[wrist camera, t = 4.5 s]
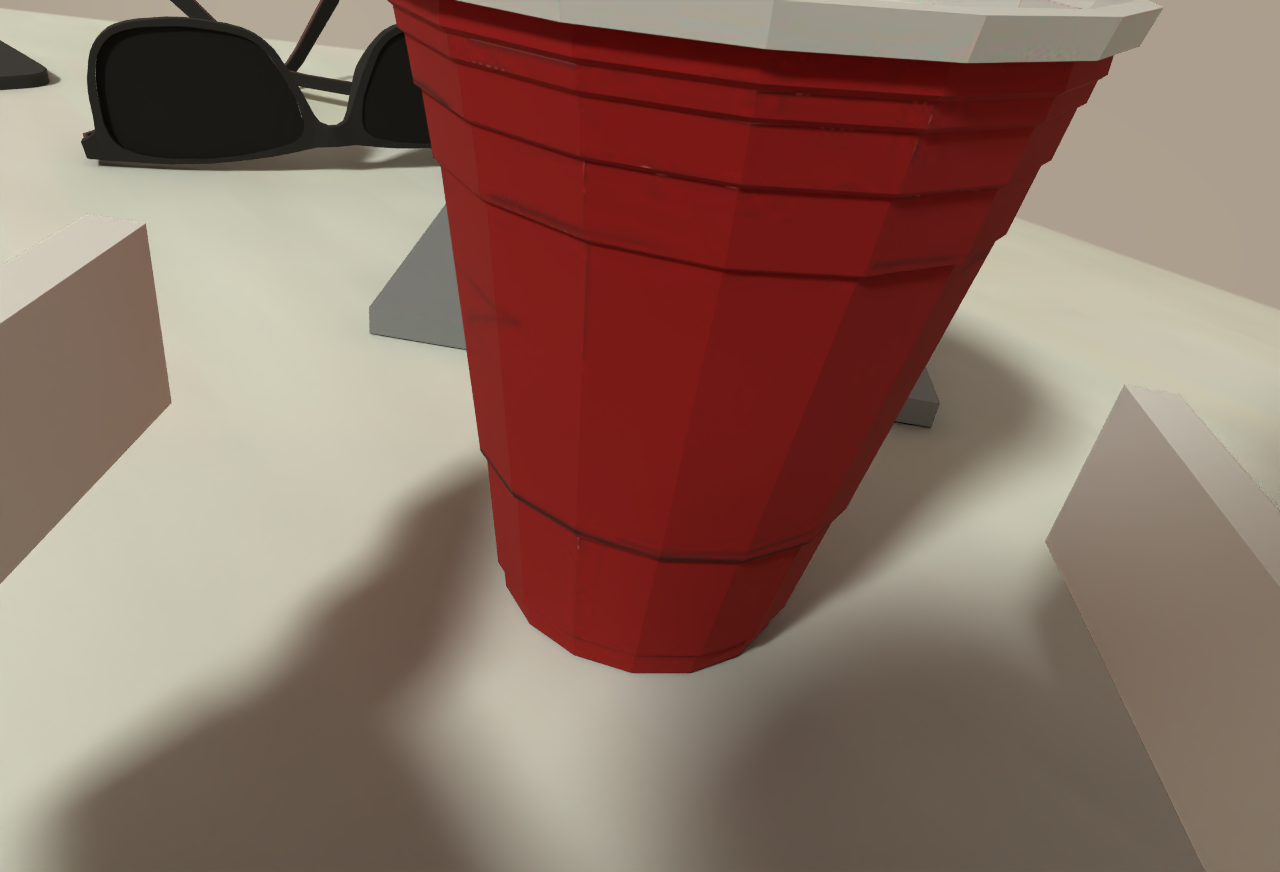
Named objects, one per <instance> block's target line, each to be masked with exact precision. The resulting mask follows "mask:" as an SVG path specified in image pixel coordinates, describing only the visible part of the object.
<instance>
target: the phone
mask: <svg viewBox="0 0 1280 872" xmlns="http://www.w3.org/2000/svg"><path fill="white" fill-rule="evenodd" d="M48 83H49V78H48V73H47V69H46V68H45V67H44V66H42V65H41V64H39V63H38V62H36V61H34V60H33V59H31V58H29V57H28V56H26V55H24V54H22V53H21V52H19V51H17V50H16V49H14V48H12V47H11V46H9V45H7V44H6V43H4V42H2V41H0V90H8V89H22V88H33V87H40V86H44V85H47V84H48Z"/></svg>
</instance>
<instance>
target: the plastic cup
mask: <svg viewBox="0 0 1280 872" xmlns="http://www.w3.org/2000/svg"><path fill="white" fill-rule="evenodd" d="M388 1H389V2H390V3H391V4H392V5H393V8H394V13H395V18H396V23H397V27H398V28H399V29H400V30H402V31H403V32H404V34H405V39H406V44H407V50H408V55H409V60H410V66H411V71H412V76H413V81H414V84H416V85H417V86H418V87H420V88H421V89H422V95H423V101H424V107H425V112H426V118H427V124H428V130H429V135H430V141H431V147H432V153H433V158H434V159H436V160H437V161H438V162H439V163H440V164H441V171H442V178H443V185H444V193H445V200H446V207H447V214H448V221H449V228H450V235H451V243H452V250H453V257H454V264H455V271H456V278H457V286H458V293H459V300H460V307H461V314H462V321H463V328H464V336H465V343H466V350H467V357H468V364H469V371H470V378H471V386H472V393H473V400H474V407H475V414H476V421H477V429H478V436H479V443H480V450H481V452H482V453H483V455H484V456H485V458H486V459H487V462H488V471H489V480H490V489H491V499H492V508H493V517H494V526H495V536H496V545H497V554H498V562H499V564H500V565H501V567H502V568H503V570H504V572H505V579H506V586H507V588H508V589H509V591H510V593H511V594H512V596H513V597H514V599H515V601H516V602H517V604H518V606H519V607H520V609H521V610H522V612H523V614H524V615H525V617H526V618H527V620H528V622H529V623H530V624H531V625H532V626H534V627H535V628H537V629H538V630H539V631H541V632H542V633H544V634H545V635H546V636H548V637H549V638H551V639H552V640H553V641H555V642H556V643H558V644H559V645H561V646H562V647H563V648H565V649H566V650H568V651H569V652H570V653H572V654H573V655H576V656H579V657H582V658H585V659H589V660H592V661H595V662H598V663H602V664H605V665H608V666H611V667H614V668H618V669H621V670H624V671H627V672H631V673H690V672H693V671H696V670H699V669H702V668H705V667H707V666H710V665H713V664H716V663H719V662H722V661H724V660H727V659H730V658H733V657H736V656H738V655H739V654H740V653H741V652H742V651H743V650H744V649H745V648H746V647H747V646H748V645H749V644H750V643H751V642H752V641H753V640H754V639H755V638H756V637H757V636H758V635H759V634H760V633H761V632H762V631H763V630H764V629H765V628H766V627H767V625H768V623H769V622H770V620H771V619H772V618H773V617H774V616H775V615H776V614H777V613H778V612H779V611H780V610H781V609H782V608H783V607H784V606H785V604H786V602H787V601H788V599H789V597H790V595H791V593H792V592H793V590H794V588H795V586H796V585H797V583H798V581H799V579H800V577H801V576H802V574H803V572H804V570H805V569H806V567H807V565H808V563H809V561H810V560H811V558H812V556H813V554H814V553H815V551H816V549H817V547H818V545H819V544H820V542H821V540H822V538H823V537H824V535H825V533H826V531H827V529H828V528H829V526H830V524H831V522H832V521H833V520H834V519H836V518H837V517H838V516H839V515H840V514H841V513H842V512H843V511H844V510H845V509H846V507H847V506H848V504H849V502H850V500H851V498H852V497H853V495H854V493H855V491H856V489H857V488H858V486H859V484H860V482H861V481H862V479H863V477H864V475H865V473H866V472H867V470H868V468H869V466H870V464H871V463H872V461H873V459H874V457H875V456H876V454H877V452H878V450H879V448H880V447H881V445H882V443H883V441H884V439H885V438H886V436H887V434H888V432H889V431H890V429H891V427H892V425H893V423H894V422H895V420H896V418H897V416H898V414H899V413H900V411H901V409H902V407H903V406H904V404H905V402H906V400H907V398H908V397H909V395H910V393H911V391H912V389H913V388H914V386H915V384H916V382H917V381H918V379H919V377H920V375H921V373H922V372H923V370H924V368H925V366H926V364H927V363H928V361H929V359H930V357H931V355H932V354H933V352H934V350H935V348H936V347H937V345H938V343H939V341H940V339H941V338H942V336H943V334H944V332H945V330H946V329H947V327H948V325H949V323H950V322H951V320H952V318H953V316H954V314H955V313H956V311H957V309H958V307H959V305H960V304H961V302H962V300H963V298H964V297H965V295H966V293H967V291H968V289H969V288H970V286H971V284H972V282H973V280H974V279H975V277H976V275H977V273H978V272H979V270H980V268H981V266H982V264H983V263H984V261H985V259H986V257H987V255H988V254H989V252H990V250H991V248H992V247H993V245H994V243H995V241H997V240H998V239H1000V238H1001V237H1003V236H1004V235H1006V234H1007V232H1008V230H1009V228H1010V226H1011V224H1012V222H1013V220H1014V218H1015V216H1016V214H1017V212H1018V210H1019V208H1020V206H1021V204H1022V202H1023V200H1024V198H1025V196H1026V194H1027V192H1028V190H1029V188H1030V186H1031V184H1032V183H1033V180H1034V179H1035V177H1036V175H1037V173H1038V171H1039V169H1040V167H1041V166H1042V165H1043V164H1045V163H1047V162H1049V161H1051V160H1052V158H1053V156H1054V154H1055V152H1056V149H1057V148H1058V146H1059V144H1060V142H1061V139H1062V137H1063V136H1064V134H1065V132H1066V130H1067V128H1068V126H1069V124H1070V122H1071V119H1072V118H1073V116H1074V114H1075V112H1076V109H1077V108H1078V107H1080V106H1081V105H1084V104H1086V103H1087V101H1088V99H1089V97H1090V95H1091V93H1092V91H1093V89H1094V87H1095V85H1096V83H1097V81H1098V80H1099V79H1101V78H1103V77H1104V76H1106V75H1108V71H1109V69H1110V66H1111V62H1112V59H1113V56H1114V55H1116V54H1118V53H1121V52H1124V51H1128V50H1130V49H1133V48H1136V47H1139V46H1140V45H1141V43H1142V42H1143V40H1144V38H1145V37H1146V35H1147V33H1148V32H1149V30H1150V28H1151V27H1152V25H1153V24H1154V22H1155V21H1156V19H1157V17H1158V16H1159V14H1160V13H1161V11H1162V9H1163V7H1162V6H1160V5H1157V4H1155V3H1153V2H1151V1H1148V0H388Z"/></svg>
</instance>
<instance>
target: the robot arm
mask: <svg viewBox="0 0 1280 872" xmlns="http://www.w3.org/2000/svg"><path fill="white" fill-rule="evenodd" d="M170 404H171V396H170V389H169V382H168V375H167V368H166V361H165V354H164V347H163V340H162V333H161V326H160V319H159V312H158V305H157V298H156V291H155V284H154V277H153V271H152V264H151V257H150V250H149V243H148V236H147V229H146V223H141V222H135V221H129V220H123V219H116V218H110V217H104V216H98V215H92V214H85V215H83V216H82V217H80V218H78V219H77V220H75V221H73V222H72V223H70V224H68V225H67V226H65V227H64V228H62V229H60V230H59V231H57V232H55V233H54V234H52V235H50V236H49V237H47V238H45V239H44V240H42V241H40V242H39V243H37V244H35V245H34V246H32V247H31V248H29V249H27V250H26V251H24V252H22V253H21V254H19V255H17V256H16V257H14V258H12V259H11V260H9V261H7V262H6V263H4V264H3V265H1V266H0V584H1V583H2V582H3V581H4V579H5V578H6V577H7V576H8V575H9V574H10V573H11V572H12V571H13V570H14V569H15V568H16V567H17V566H18V565H19V564H20V563H21V561H22V560H23V559H24V558H25V557H26V556H27V555H28V554H29V553H30V552H31V551H32V550H33V549H34V548H35V547H36V546H37V545H38V543H39V542H40V541H41V540H42V539H43V538H44V537H45V536H46V535H47V534H48V533H49V532H50V531H51V530H52V529H53V528H54V527H55V526H56V524H57V523H58V522H59V521H60V520H61V519H62V518H63V517H64V516H65V515H66V514H67V513H68V512H69V511H70V510H71V509H72V508H73V506H74V505H75V504H76V503H77V502H78V501H79V500H80V499H81V498H82V497H83V496H84V495H85V494H86V493H87V492H88V491H89V490H90V488H91V487H92V486H93V485H94V484H95V483H96V482H97V481H98V480H99V479H100V478H101V477H102V476H103V475H104V474H105V473H106V472H107V470H108V469H109V468H110V467H111V466H112V465H113V464H114V463H115V462H116V461H117V460H118V459H119V458H120V457H121V456H122V455H123V454H124V452H125V451H126V450H127V449H128V448H129V447H130V446H131V445H132V444H133V443H134V442H135V441H136V440H137V439H138V438H139V437H140V436H141V435H142V433H143V432H144V431H145V430H146V429H147V428H148V427H149V426H150V425H151V424H152V423H153V422H154V421H155V420H156V419H157V418H158V417H159V415H160V414H161V413H162V412H163V411H164V410H165V409H166V408H167V407H168V406H169V405H170ZM1045 542H1046V544H1047V546H1048V548H1049V550H1050V552H1051V554H1052V556H1053V558H1054V560H1055V563H1056V565H1057V567H1058V569H1059V571H1060V573H1061V575H1062V577H1063V579H1064V581H1065V583H1066V585H1067V587H1068V589H1069V591H1070V594H1071V596H1072V598H1073V600H1074V602H1075V604H1076V606H1077V608H1078V610H1079V612H1080V614H1081V616H1082V618H1083V620H1084V622H1085V624H1086V627H1087V629H1088V631H1089V633H1090V635H1091V637H1092V639H1093V641H1094V643H1095V645H1096V647H1097V649H1098V651H1099V653H1100V655H1101V658H1102V660H1103V662H1104V664H1105V666H1106V668H1107V670H1108V672H1109V674H1110V676H1111V678H1112V680H1113V682H1114V684H1115V686H1116V689H1117V691H1118V693H1119V695H1120V697H1121V699H1122V701H1123V703H1124V705H1125V707H1126V709H1127V711H1128V713H1129V715H1130V717H1131V720H1132V722H1133V724H1134V726H1135V728H1136V730H1137V732H1138V734H1139V736H1140V738H1141V740H1142V742H1143V744H1144V746H1145V748H1146V751H1147V753H1148V755H1149V757H1150V759H1151V761H1152V763H1153V765H1154V767H1155V769H1156V771H1157V773H1158V775H1159V777H1160V779H1161V782H1162V784H1163V786H1164V788H1165V790H1166V792H1167V794H1168V796H1169V798H1170V800H1171V802H1172V804H1173V806H1174V808H1175V810H1176V813H1177V815H1178V817H1179V819H1180V821H1181V823H1182V825H1183V827H1184V829H1185V831H1186V833H1187V835H1188V837H1189V839H1190V841H1191V843H1192V846H1193V848H1194V850H1195V852H1196V854H1197V856H1198V858H1199V860H1200V862H1201V864H1202V866H1203V868H1204V870H1205V872H1280V511H1279V510H1278V509H1277V507H1276V506H1275V505H1274V504H1273V503H1272V502H1271V500H1270V499H1269V498H1268V497H1267V496H1266V495H1265V493H1264V492H1263V491H1262V490H1261V489H1260V488H1259V486H1258V485H1257V484H1256V483H1255V482H1254V481H1253V479H1252V478H1251V477H1250V476H1249V475H1248V474H1247V472H1246V471H1245V470H1244V469H1243V468H1242V466H1241V465H1240V464H1239V463H1238V462H1237V461H1236V459H1235V458H1234V457H1233V456H1232V455H1231V454H1230V452H1229V451H1228V450H1227V449H1226V448H1225V447H1224V445H1223V444H1222V443H1221V442H1220V441H1219V440H1218V438H1217V437H1216V436H1215V435H1214V434H1213V433H1212V431H1211V430H1210V429H1209V428H1208V427H1207V426H1206V424H1205V423H1204V422H1203V421H1202V420H1201V418H1200V417H1199V416H1198V415H1197V414H1196V413H1195V411H1194V410H1193V409H1192V408H1191V407H1190V406H1189V404H1188V403H1187V402H1186V401H1185V400H1184V399H1183V397H1182V396H1181V395H1180V394H1178V393H1172V392H1166V391H1160V390H1154V389H1148V388H1142V387H1136V386H1130V385H1124V386H1123V388H1122V390H1121V392H1120V394H1119V396H1118V398H1117V400H1116V402H1115V404H1114V406H1113V408H1112V410H1111V412H1110V414H1109V416H1108V418H1107V420H1106V422H1105V424H1104V426H1103V428H1102V430H1101V432H1100V434H1099V436H1098V438H1097V440H1096V442H1095V444H1094V446H1093V448H1092V450H1091V452H1090V454H1089V456H1088V458H1087V460H1086V462H1085V463H1084V465H1083V467H1082V469H1081V471H1080V473H1079V475H1078V477H1077V479H1076V481H1075V483H1074V485H1073V487H1072V489H1071V491H1070V493H1069V495H1068V497H1067V499H1066V501H1065V503H1064V505H1063V507H1062V509H1061V511H1060V513H1059V515H1058V517H1057V519H1056V521H1055V523H1054V525H1053V527H1052V529H1051V531H1050V533H1049V535H1048V537H1047V539H1046V541H1045Z"/></svg>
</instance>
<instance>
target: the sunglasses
mask: <svg viewBox="0 0 1280 872" xmlns="http://www.w3.org/2000/svg"><path fill="white" fill-rule="evenodd" d="M170 1H172V2H173V3H174V4H175V5H176V6H177V7H178V8H180V9H181V10H182V11H183V12H184V13H185V14H186V15H187V16H189V17H190V18H187V17H153V18H138V19H132V20H126V21H122V22H118V23H115V24H113V25H110V26H108V27H107V28H106V29H105V30H103V31H102V32H101V33H100V35H99V36H98V37H97V38H96V40H95V41H94V43H93V45H92V47H91V50H90V53H89V60H88V72H87V86H88V94H89V101H90V105H91V109H92V114H93V119H94V126H95V130H92V131H89V132H86V133H83V136H84V138H83V139H82V141H81V143H82V146H83V148H84V151H85V154H86V156H87V159H98V160H110V161H126V162H140V163H157V164H207V163H221V162H232V161H243V160H251V159H259V158H267V157H273V156H279V155H284V154H289V153H294V152H299V151H303V150H307V149H312V148H317V147H341V146H351V145H362V146H372V147H384V148H432V147H431V141H430V135H429V130H428V124H427V118H426V112H425V107H424V101H423V95H422V89H421V88H420V87H418V86H417V85H416V84H414V81H413V76H412V71H411V66H410V60H409V55H408V50H407V44H406V39H405V34H404V32H403V31H402V30H400V29H399V28H398V27H397V24H395V25H392V26H390V27H388V28H387V29H385V30H383V31H382V32H381V33H380V34H379V35H378V36H377V37H376V38H375V39H374V40H373V41H372V43H371V44H370V45H369V46H368V48H367V49H366V51H365V52H364V54H363V55H362V57H361V58H360V60H359V62H358V64H357V66H356V68H355V72H354V76H353V80H352V82H349V81H342V80H336V79H330V78H324V77H318V76H313V75H307V74H303V73H299V72H296V71H297V70H298V69H299V68H300V66H301V65H302V64H303V62H304V61H305V59H306V57H307V55H308V54H309V52H310V50H311V49H312V47H313V45H314V44H315V42H316V40H317V38H318V37H319V35H320V33H321V32H322V30H323V28H324V27H325V25H326V23H327V21H328V20H329V18H330V16H331V15H332V13H333V11H334V10H335V8H336V6H337V4H338V3H339V0H320V2H319V4H318V6H317V8H316V10H315V12H314V14H313V15H312V17H311V19H310V21H309V23H308V25H307V27H306V29H305V31H304V32H303V34H302V36H301V38H300V40H299V42H298V44H297V46H296V48H295V49H294V51H293V52H292V54H291V55H290V57H289V59H288V60H287V62H286V63H285V64H284V63H283V62H282V60H281V58H280V57H279V55H278V54H277V53H276V51H275V50H274V49H273V48H272V47H271V46H270V45H269V44H268V43H267V42H266V41H265V40H263V39H262V38H261V37H259V36H258V35H256V34H255V33H253V32H251V31H249V30H247V29H244V28H242V27H238V26H235V25H231V24H228V23H223V22H217V21H216V20H215V19H214V18H213V17H212V16H211V15H210V14H209V13H208V12H207V11H206V10H205V9H204V8H203V7H202V6H201V5H199V3H198V2H197V1H196V0H170ZM96 57H97V58H96ZM272 60H273V61H272ZM274 63H275V64H274ZM95 69H96V80H95ZM298 86H301V87H305V88H311V89H317V90H322V91H328V92H334V93H339V94H345V95H350V96H349V101H348V106H347V111H346V114H345V117H344V120H343V121H342V122H340V123H339V124H337V125H327V124H324V123H322V122H320V121H319V120H318V119H317V118H316V116H315V115H314V113H313V112H312V110H311V108H310V106H309V104H308V103H307V101H306V99H305V97H304V95H303V94H302V92H301V90H300V88H299V87H298ZM96 87H97V89H96ZM289 87H290V88H289ZM97 93H98V94H97ZM293 94H294V95H293ZM98 98H99V99H98ZM99 102H100V103H99ZM297 103H298V104H297ZM100 106H101V107H100ZM298 106H299V107H298ZM299 109H300V110H299ZM300 112H301V113H300ZM301 115H302V117H301Z"/></svg>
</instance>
